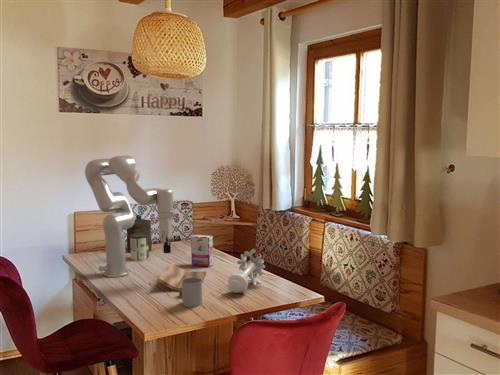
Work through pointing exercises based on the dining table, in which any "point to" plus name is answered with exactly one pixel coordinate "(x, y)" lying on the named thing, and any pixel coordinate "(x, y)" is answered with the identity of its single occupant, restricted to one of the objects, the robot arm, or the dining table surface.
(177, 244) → the dining table surface
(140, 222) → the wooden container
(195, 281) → the cup
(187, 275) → the laid board
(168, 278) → the plank
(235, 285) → the flower vase
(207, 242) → the candy bar box
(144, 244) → the coffee can
